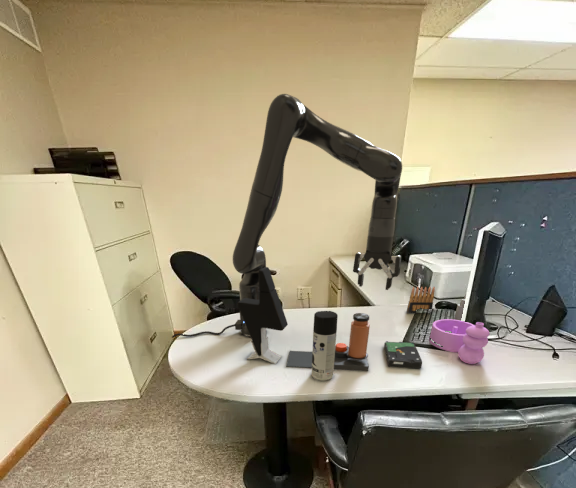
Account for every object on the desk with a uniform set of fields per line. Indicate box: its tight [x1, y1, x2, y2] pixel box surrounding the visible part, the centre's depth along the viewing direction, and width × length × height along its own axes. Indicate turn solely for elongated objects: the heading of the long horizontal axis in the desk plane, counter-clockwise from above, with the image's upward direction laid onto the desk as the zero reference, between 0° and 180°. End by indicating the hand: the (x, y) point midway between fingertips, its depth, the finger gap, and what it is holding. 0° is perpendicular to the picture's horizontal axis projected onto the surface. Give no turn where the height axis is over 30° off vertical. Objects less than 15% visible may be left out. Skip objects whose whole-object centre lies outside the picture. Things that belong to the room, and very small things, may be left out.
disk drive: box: [383, 340, 423, 369], centre depth 110 cm, size 10×3×15 cm
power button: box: [336, 342, 348, 352], centre depth 108 cm, size 4×4×2 cm
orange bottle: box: [348, 312, 371, 358], centre depth 101 cm, size 6×6×13 cm
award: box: [236, 266, 288, 365], centre depth 104 cm, size 15×5×30 cm, turn 71°
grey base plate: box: [334, 345, 370, 372], centre depth 107 cm, size 14×11×4 cm
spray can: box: [311, 310, 338, 382], centre depth 96 cm, size 7×7×20 cm
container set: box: [428, 318, 490, 365], centre depth 113 cm, size 25×15×13 cm, turn 179°
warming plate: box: [346, 351, 369, 360], centre depth 105 cm, size 7×7×1 cm
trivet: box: [286, 350, 313, 369], centre depth 109 cm, size 11×11×1 cm
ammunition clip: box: [406, 286, 436, 314], centre depth 145 cm, size 11×2×12 cm, turn 89°
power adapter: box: [453, 293, 467, 321], centre depth 135 cm, size 3×5×12 cm, turn 81°
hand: (373, 287), depth 106 cm, fingers open, 8 cm apart
